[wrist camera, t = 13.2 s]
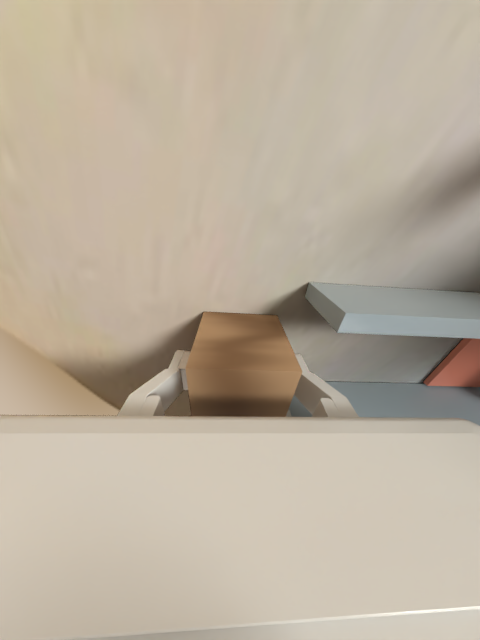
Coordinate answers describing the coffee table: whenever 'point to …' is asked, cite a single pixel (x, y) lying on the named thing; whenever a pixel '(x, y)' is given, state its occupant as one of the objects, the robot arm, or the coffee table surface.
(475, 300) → the channel
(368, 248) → the coffee table surface
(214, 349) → the walnut cube
